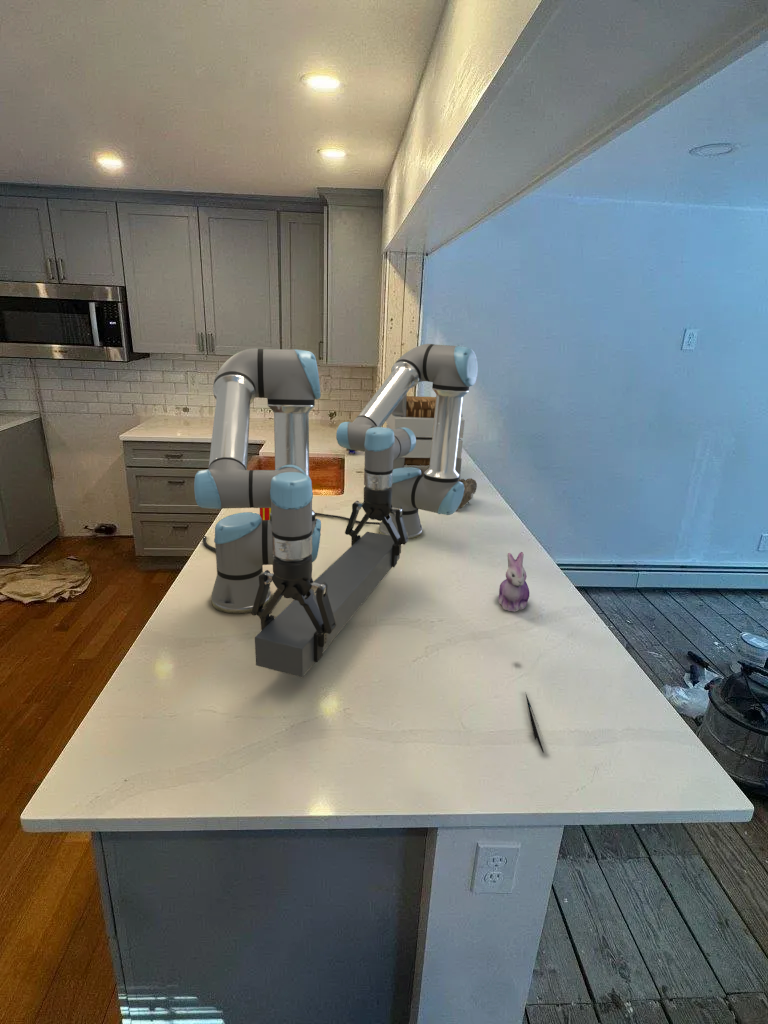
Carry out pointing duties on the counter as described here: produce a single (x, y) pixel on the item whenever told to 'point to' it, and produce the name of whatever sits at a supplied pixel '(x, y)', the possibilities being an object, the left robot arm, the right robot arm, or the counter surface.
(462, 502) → the fossil
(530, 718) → the feather
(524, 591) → the figurine
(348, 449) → the figurine character
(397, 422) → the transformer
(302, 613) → the slab
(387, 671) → the counter surface
